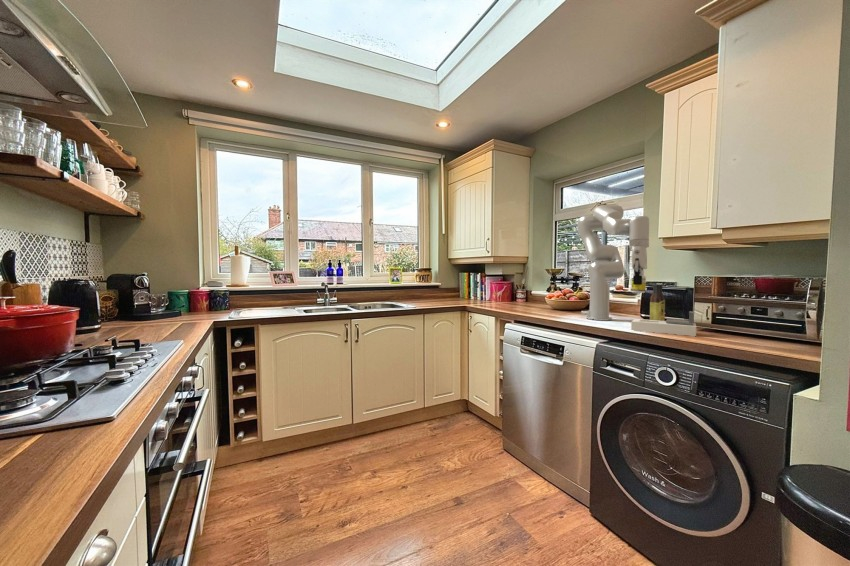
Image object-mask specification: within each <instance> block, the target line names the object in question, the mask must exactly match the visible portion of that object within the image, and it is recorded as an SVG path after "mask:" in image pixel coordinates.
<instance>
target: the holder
mask: <svg viewBox="0 0 850 566" xmlns="http://www.w3.org/2000/svg"><path fill="white" fill-rule="evenodd" d="M693 323H694V324H693V325H687V324H674V323H666V320H664V321H659V320H650V319H647V318H646V319H644V318H643V319H642V318H634V319H633V320H631V323H630V325H631V326H630V331H631V330H634V332H641V331H646V332H645V333H652V332H655V333H656V334H663V333H668V334H667V335H674V334H677V335H676V336H684V335H692V336H691V337H695V336H696V337H697V324H696V322H693Z"/></svg>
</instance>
